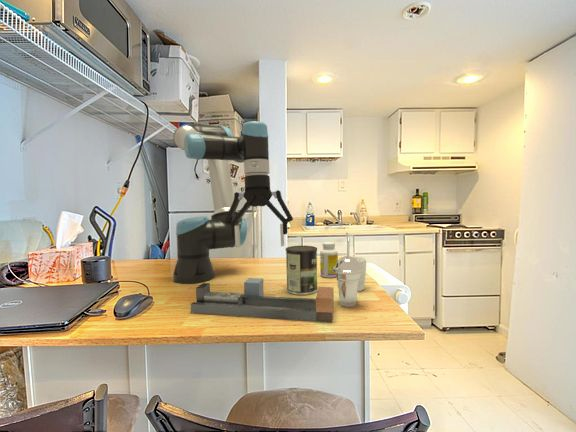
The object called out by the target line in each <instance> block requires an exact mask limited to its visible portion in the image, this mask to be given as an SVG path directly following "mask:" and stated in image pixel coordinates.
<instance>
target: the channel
mask: <svg viewBox="0 0 576 432" xmlns="http://www.w3.org/2000/svg"><path fill="white" fill-rule="evenodd" d="M334 293H335V292H334V286H332V287H331V286H318V288H317V292H316V296H315V298H307V297H306V298H305V297H290V296H270V295H269V296H267V295H264V296H253V295H244V294H242V301H243V305H234V304H217V303H201V302H197V301H193V302H191V303H190V314H199V315H201V314H202V315H214V316H215V315H216V316H230V317H243V318H244V317H245V318H260V319H276V320H290V321H302V322H303V321H305V322H316V323H317V322H320V323H322V322H323V323H333V319H334V317H333V316H334V309H335V308H334V306H335V305H334V304H335V303H334V301H335V300H334V298H335V295H334Z"/></svg>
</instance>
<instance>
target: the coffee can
mask: <svg viewBox="0 0 576 432" xmlns="http://www.w3.org/2000/svg"><path fill="white" fill-rule="evenodd" d="M285 254H286V256H285V257H286V258H285V259H286V291H287V293H288V294H292V295H297V296H305V295H307V296H308V295H313V294H315V293H317V292H318V256H317V255H318V248H317V247H316V246H312V245H291V246H287V247H286V248H285Z"/></svg>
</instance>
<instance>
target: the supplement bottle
mask: <svg viewBox="0 0 576 432" xmlns="http://www.w3.org/2000/svg"><path fill="white" fill-rule="evenodd" d="M335 247H336V243H335V242H333V241H325V242H324V241H323V242H322V248H321V250H320V254H319V257H320V261H319V262H320V276H321V277H322V278H327V279H328V278H329V279H330V278H331V279H332V278H336V272H334V271H333V267H334V266H336V263H337V261H338V260H339V258H338V256H339V254H338V253H339V252H338V250H337V249H336V248H335Z"/></svg>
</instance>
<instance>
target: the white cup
mask: <svg viewBox="0 0 576 432" xmlns="http://www.w3.org/2000/svg"><path fill="white" fill-rule="evenodd" d="M352 257H353V258H355V259H356V260H357V261H358V262H359V264H360V267H362V268H363V272H362V273H360V278H359V282H358V291H357V292H361V291H362V290H363V291H364V290H365V288H366V284H365V283H366V282H365V281H366V274H367V273H366V272H367V258H365V257H362V256H352ZM363 291H362V292H363Z"/></svg>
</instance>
